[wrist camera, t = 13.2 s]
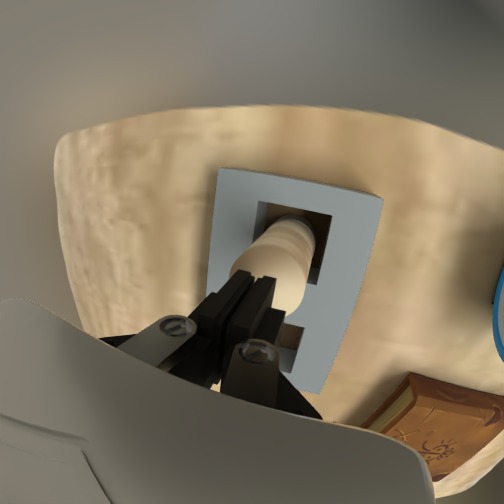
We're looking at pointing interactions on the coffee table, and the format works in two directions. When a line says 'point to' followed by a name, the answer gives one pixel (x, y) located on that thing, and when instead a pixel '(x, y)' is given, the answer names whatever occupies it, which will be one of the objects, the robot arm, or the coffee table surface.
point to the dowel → (282, 259)
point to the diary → (439, 421)
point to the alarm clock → (499, 316)
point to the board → (319, 279)
